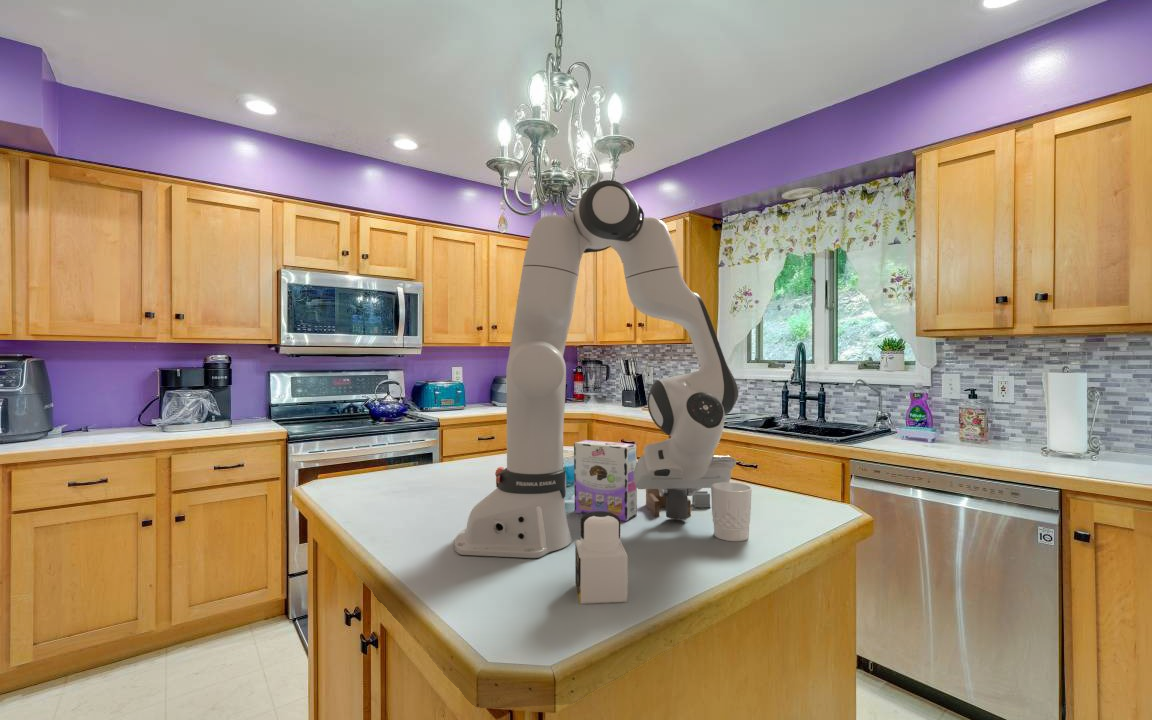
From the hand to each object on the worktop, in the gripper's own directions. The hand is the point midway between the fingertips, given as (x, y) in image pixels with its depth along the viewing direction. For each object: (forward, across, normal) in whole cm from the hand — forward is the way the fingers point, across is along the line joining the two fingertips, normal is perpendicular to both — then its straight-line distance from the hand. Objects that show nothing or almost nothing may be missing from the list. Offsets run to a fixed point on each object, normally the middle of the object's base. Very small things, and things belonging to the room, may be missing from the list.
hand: (675, 493), depth 118 cm
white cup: (-4, -8, +12) cm, 15 cm away
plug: (+3, 0, +4) cm, 5 cm away
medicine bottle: (-21, +21, +29) cm, 42 cm away
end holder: (+9, 0, -1) cm, 9 cm away
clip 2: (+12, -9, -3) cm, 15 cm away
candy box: (+8, +15, 0) cm, 17 cm away
